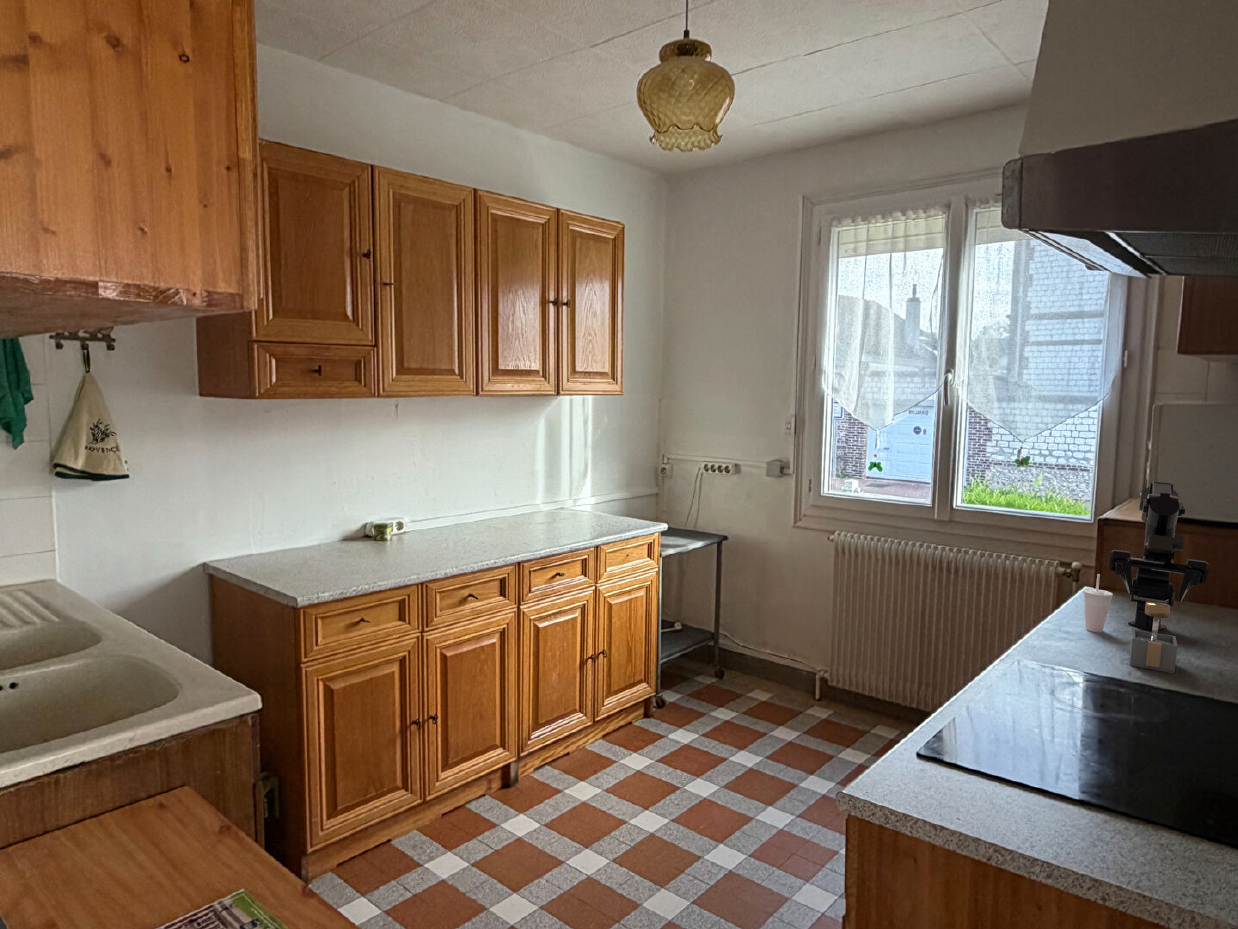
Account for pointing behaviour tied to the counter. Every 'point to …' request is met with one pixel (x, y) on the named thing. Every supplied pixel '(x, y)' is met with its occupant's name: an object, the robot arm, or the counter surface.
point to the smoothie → (1096, 607)
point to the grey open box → (1153, 652)
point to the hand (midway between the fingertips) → (1154, 597)
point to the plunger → (1156, 618)
